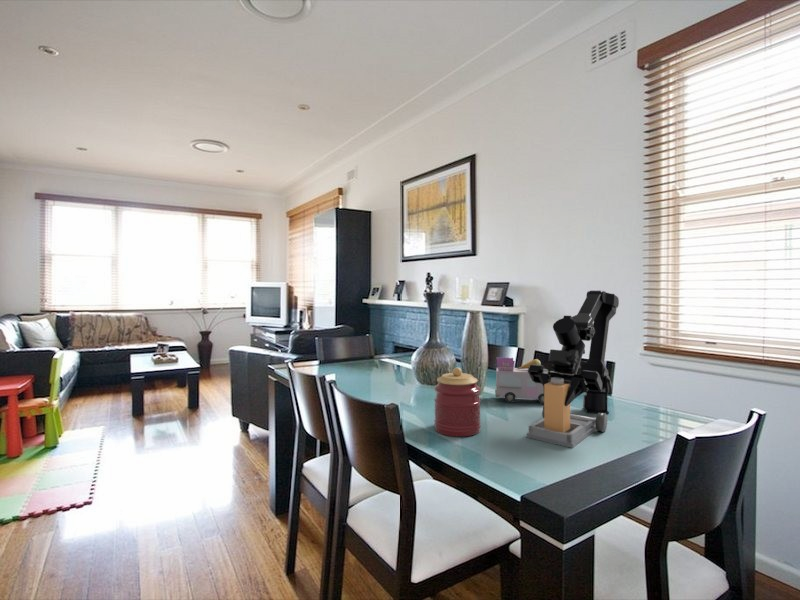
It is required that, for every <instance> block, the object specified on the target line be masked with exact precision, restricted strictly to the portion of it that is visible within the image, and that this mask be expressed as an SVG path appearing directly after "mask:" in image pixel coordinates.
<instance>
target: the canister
mask: <svg viewBox="0 0 800 600" xmlns="http://www.w3.org/2000/svg"><path fill="white" fill-rule="evenodd" d="M436 380H437V382H438V383H437V384H436V385H435V386H434V388H433V390H434V391H435V397H434V399H433V401H434V421H433V422H434V428H435V431H436V432H437V433H439V434H442V435H443V436H449V437H456V438H457V437H470V436H474V435H477V434H478V433H480V431H481V425H482V424H481V423H482V422H481V401H482V400H481V399H480V392H481V390H482V389H481V387H480V386H479V385H477V383H478V378H476V377H474V376H473V374H470V373H465V372H463V371H462V368H461V367H459V366H457V367H454V368H453V369H452V372H447V373H443V374H442V375H441V376H439V377H438V378H437V379H436Z"/></svg>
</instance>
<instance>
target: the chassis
mask: <svg viewBox="0 0 800 600" xmlns="http://www.w3.org/2000/svg"><path fill="white" fill-rule="evenodd" d="M541 412H542V413H541V416H542V418H541V419H540V420H538V421H536V422H534V423H532V424H530V425H528V432H527V433H526V438H528V439H532V440H537V441H541V442H545V443H550V444H554V445H558V446H561V447H566V448H567V447H568V448H571V449H573V448H575V447H576V446H577V445H578V444H580V443H581V442H582V441H585V439H586V438H587V437H589V436H590V435H591V434H592V433H594V432H596V431H597V432H602V433H605V432H606V430H607V427H608V416H607V413H596V414H597V415H596V417H595V416H594V417H590V416H585V415H578V414H573V413H570V429H569V430H567V431H566V432H564V433H563V432H558V431H553V430H549V429H544V406H543V407H542V411H541Z"/></svg>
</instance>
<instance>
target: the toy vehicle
mask: <svg viewBox="0 0 800 600" xmlns="http://www.w3.org/2000/svg"><path fill="white" fill-rule="evenodd" d="M515 362H516V361H515V360H514V358H513V357H505V356H504V357H496V364H497V367H496V368H495V369H496V370H495V372H496V373H495V376H496V377H495V379H496V380H495V386H496V387H495V388H496V389H495V391H494V393H495V394H494V395H495V398H502V399H503V402H507V403H509V404H512V403H514V402H515V401H516V399H521V400H522V399H526V400H538V402H539V404H541V405H544V387H543V385H542V384H541V383H535V382H533V381H532V379H531V377H530V375H529V373H528V368H529V366H530V365H532V364H535V365H542V363H541V361H540V360H539V359H538V358H536V359H533V360H530V361H528V362H527V363H525V364H523V365H521V366H519V367H515Z"/></svg>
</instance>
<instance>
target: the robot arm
mask: <svg viewBox="0 0 800 600" xmlns="http://www.w3.org/2000/svg"><path fill="white" fill-rule="evenodd" d="M619 302H620V300H619V297H618V296H617V295H616V294H615V293H610V292H606V291H605V290H588V291H587V292H586V296H585V300H584V302H583V303H582V305H581V307H580V309H579V310H578V312H577V314H576V315H573V316H572V315H563V318H560V319H558V320H556V321H555V322H554V323H553V325H552V329H553V332H554V333H555V337H556V338H557V341H558V343H559V345H561V346H562V347H561V349H550V350H549V355H548V359H547V360H548V362H549V363H551V365H550V366H551V369H553V370H549V369H547V368H546V367H545V365H544V364H543V365H542V364H541V365H535V364H532V365H530V366H529V368H528V373H529V375H530V377H531V379H532V381H533V382H535V383H541V384H542V385H543V387H544V384H546V383H549V382H551V378H552V377H559V378H563V379H564V382H570V388H569V391H568V393H567V396H566V399H565V403H564V404H565V406H568V405H569V404H570V405H571V404H572V402H573V401H574V400H576V399H577V398H578V397H580V396H581V395H582V407H583V409H584V410H585V411H586V413H589V414H590V413H594V414H598V413H605V414H606V415H607V414H608V415H609V413H610V411H609V410H608V395H613V384H612V381H611V378H610V376H609V369H607V366H606V364H605V357H606V351H607V350H606V349H607V342H608V336H609V335H608V334H609V326H610V321H611V319H613V317H615V315H616V314H617V308H618V307H619V305H620V303H619ZM589 341H590V345H589V346H590V347H589V354H588V360H587V361H586V362H583V363H582V364H581V362H582V361H581V360H582V357H583V355H584V354H586V350H585V348H586V345H585V342H589ZM579 370H581V371H580V372H579V374H578V371H579ZM583 393H584V394H583Z"/></svg>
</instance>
